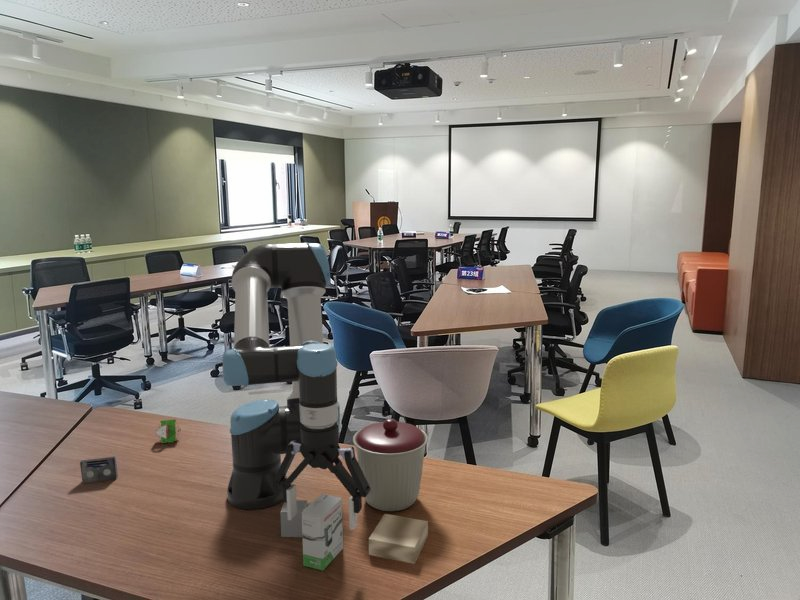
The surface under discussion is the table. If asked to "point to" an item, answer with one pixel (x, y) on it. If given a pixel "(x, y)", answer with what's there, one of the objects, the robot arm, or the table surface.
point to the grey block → (295, 525)
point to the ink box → (322, 531)
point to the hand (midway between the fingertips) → (322, 521)
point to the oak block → (398, 538)
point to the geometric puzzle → (167, 431)
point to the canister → (391, 463)
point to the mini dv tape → (98, 469)
